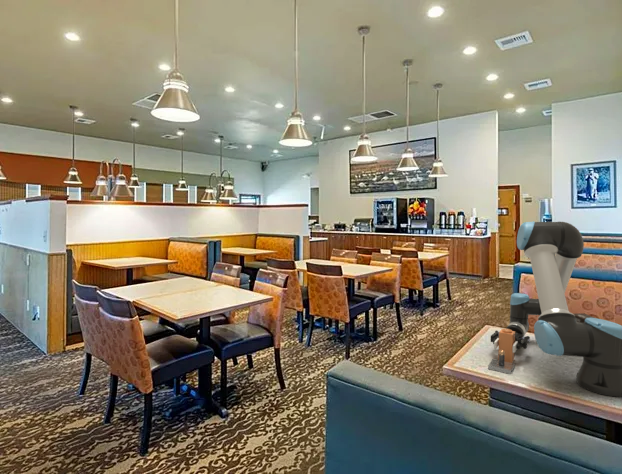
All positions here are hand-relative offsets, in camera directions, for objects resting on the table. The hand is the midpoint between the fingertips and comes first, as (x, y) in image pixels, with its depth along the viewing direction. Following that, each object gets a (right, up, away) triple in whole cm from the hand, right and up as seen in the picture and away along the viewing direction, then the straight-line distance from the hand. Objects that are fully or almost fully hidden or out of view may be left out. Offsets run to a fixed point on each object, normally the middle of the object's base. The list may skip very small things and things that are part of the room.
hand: (504, 347), depth 151 cm
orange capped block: (+3, -7, +5) cm, 9 cm away
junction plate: (-3, -7, -3) cm, 8 cm away
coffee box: (+41, -6, +14) cm, 43 cm away
